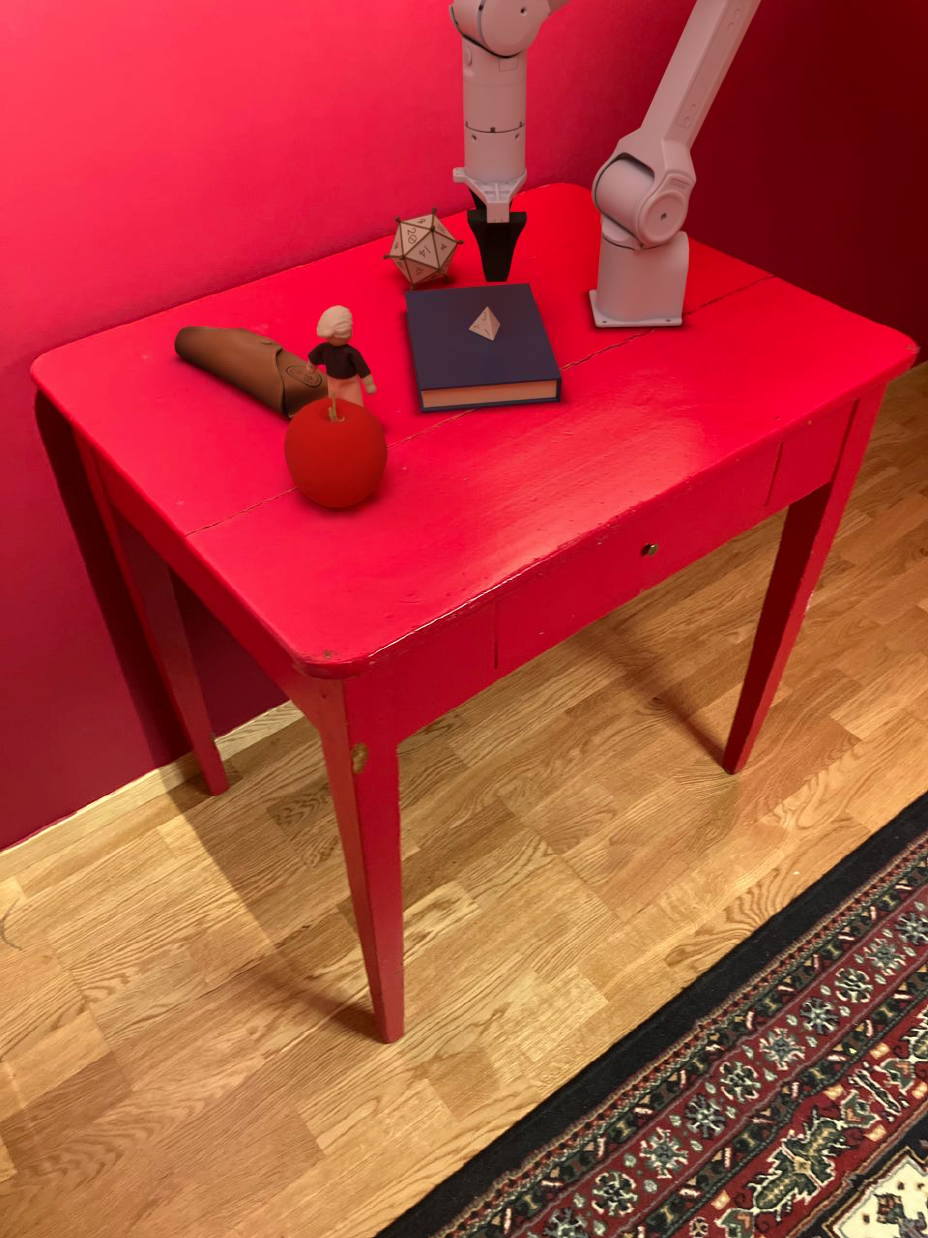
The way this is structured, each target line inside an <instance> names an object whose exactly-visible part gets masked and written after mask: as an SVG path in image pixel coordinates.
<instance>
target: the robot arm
mask: <svg viewBox="0 0 928 1238" xmlns="http://www.w3.org/2000/svg"><path fill="white" fill-rule="evenodd" d="M761 1H762V0H696V2H695V4H694V7H693V9H692V11H691V13H690V15H689V17H688V20H687V22H686V24H685V27H684V29H683V31H682V33H681V36H680V38H679V40H678V42H677V45H676V47H675V49H674V51H673V54H672V56H671V58H670V61H669V63H668V65H667V67H666V69H665V72H664V74H663V76H662V79H661V81H660V83H659V85H658V87H657V90H656V92H655V94H654V97H653V99H652V100H651V103H650V105H649V108H648V110H647V111H646V114H645V117H644V119H643V121H642V123H641V126H640V127H639V128H637V129H636V130H633V132H631V133H629V134H627V135H625V136H623V137H622V138H620V139H619V140H618V142H617V145H616V147H615V148H614V151H613V153H612V154H611V155H610V157H609V158H608V159H607V161H605V162H604V164H602V165H601V167H600V168H599V169H598V171H597V173H596V175H595V177H594V179H593V181H592V185H591V200H592V203H593V205H594V207H595V209H596V210H597V211H598V212H600V221H599V222H600V223H599V224H600V225H601V235H600V247H599V258H598V259H599V260H598V271H597V272H598V273H597V285H596V286H597V287H596V289H591V290H589V292H588V296H589V300H590V306H591V310H592V316H593V320H594V325H595V327H597V328H631V327H635V328H636V327H678V326H682V323H683V319H682V313H683V308H684V302H685V301H684V300H685V294H686V287H687V279H688V273H689V264H690V247H689V246H690V243H689V238H688V234H687V232H686V231H683V230H681V228H682V227H683V225H684V223H685V221H686V219H687V215H688V210H689V203H690V202H689V200H690V197H691V193H692V192H693V188H694V187H695V184H696V183H697V175H696V172H695V168H694V164H693V160H692V157H691V148H692V147H693V144H694V142H695V141H696V138H697V136H698V134H699V132H700V130H701V128H702V126H703V124H704V121H705V119H706V117H707V115H708V113H709V111H710V109H711V106H712V105H713V103H714V100H715V98H716V96H717V94H718V92H719V90H720V88H721V86H722V83H723V81H724V80H725V77H726V75H727V73H728V71H729V68H730V67H731V64H732V63H733V60H734V58H735V56H736V54H737V52H738V50H739V48H740V46H741V43H742V41H743V39H744V37H745V35H746V34H747V31H748V30H749V29H748V28H749V26H750V24H751V22H752V21H753V18H754V16H755V14H756V12H757V10H758V7H759V6H760V4H761ZM570 2H572V0H453V3H451V4H449V6H448V13H449V18H450V21H451V23H452V26H453V28H454V29H455V30H456V32H457V33H458V34H459V36H460V38H461V44H462V45H461V46H462V48H461V49H462V99H463V144H464V145H463V146H464V148H463V149H464V166H462V167H454V168H453V169H452V181H453V182H454V183H456V184H465V185H466V187H467V188H468V190H469V193H470V195H471V197H472V200H473V203H474V206H475V208H472V209H471V208H469V209H466V222H467V224H468V226H469V227H468V228H469V229H470V230H471V232H472V234H473V236H474V238H475V240H476V243H477V246H478V250H479V254H480V261H481V266H482V271H483V276H484V279H485V282H486V283H507V282H508V280H509V276H510V272H511V269H512V263H513V257H514V253H515V249H516V246H517V243H518V240H519V238H520V235H521V234H522V232H523V231H524V229H525V228H526V225H527V221H528V213H527V211H525V210H523V211H511V209H512V204H513V201H514V198H515V197H516V195H517V194H518V192H519V191H520V190H521V189H522V187H523V185H524V184H525V183H526V182H527V178H528V175H527V174H528V170H527V167H526V128H527V82H528V81H527V80H528V79H527V75H528V74H527V71H528V70H527V69H528V49H529V48H530V47H531V46H532V45H533V43H534V41H535V40H536V38H537V36H538V34H539V31H540V28H541V26H542V24H543V23H544V22H545V21H546V20H547V19H548V18H549V17H550V16H552V15H553V14H554V13H556V12H557V11H559V10H560V9H562V8H563V7H564V6H565V5H567V4H568V3H570Z"/></svg>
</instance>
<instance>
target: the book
mask: <svg viewBox="0 0 928 1238" xmlns="http://www.w3.org/2000/svg"><path fill="white" fill-rule="evenodd" d="M404 298H405V304H406V311H407V312H405V318H406V324H407V331H408V337H409V343H410V348H411V350H410V351H411V355H412V364H413V367H414V368H413V369H414V375H415V382H416V388H417V395H418V400H419V407H420V413H421V414H425V413H438V412H439V413H440V412H450V411H462V410H463V411H464V410H476V409H487V408H488V409H489V408H498V407H499V408H500V407H501V408H502V407H512V406H514V407H515V406H524V405H537V404H551V403H561V400H562V384H563V383H562V382H563V376H562V374H561V371H560V368H559V366H558V362H557V360H556V356H555V353H554V350H553V348H552V345H551V342H550V339H549V336H548V334H547V330H546V327H545V324H544V322H543V319H542V316H541V313H540V310H539V308H538V307H539V306H538V304H537V302H536V299H535V296H534V293H533V291H532V288H531V284H530V282H520V283H507V284H493V285H478V286H465V287H464V286H463V287H453V288H452V287H451V288H439V289H436V288H435V289H425V290H413V291H410V290H407V291H404ZM486 307H488V308H489V309H490V310H491V312H492V313H493V315H494V316H495V317H496V319H497V320H498V322H499V323H500V326H499V328H498V331H497V333H496V335H495V338H494V340H493V341H492V340H490V339H488V338H486V337H483V336H481V335H479V334H477V333H475V332H473V331H471V330H469V328H470V327H471V326H472V324H473V323H474V322H475V321H476V320H477V318H478V317H479V316H480V315H481V313H482V312H483V311H484V310H485V309H486Z"/></svg>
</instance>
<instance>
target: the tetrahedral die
mask: <svg viewBox="0 0 928 1238" xmlns="http://www.w3.org/2000/svg"><path fill="white" fill-rule="evenodd" d="M499 326H500V323H499V322H498V320H497V319H496V317H495V316H494V315H493V313H492V312H491V310H490V309H489V308H488V307H486V309H485V310H484V311H483V312H482V313H481V315H480V316H479V317H478V318H477V320H476V321H475V322H474V323H473V324H472V326H471V327H470V328H469V330H471V331H473V332H475V333H477V334H479V335H481V336H483V337H486V338H488V339H490V340H492V341H493V340H494V338H495V335H496V333H497V331H498V328H499Z"/></svg>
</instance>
